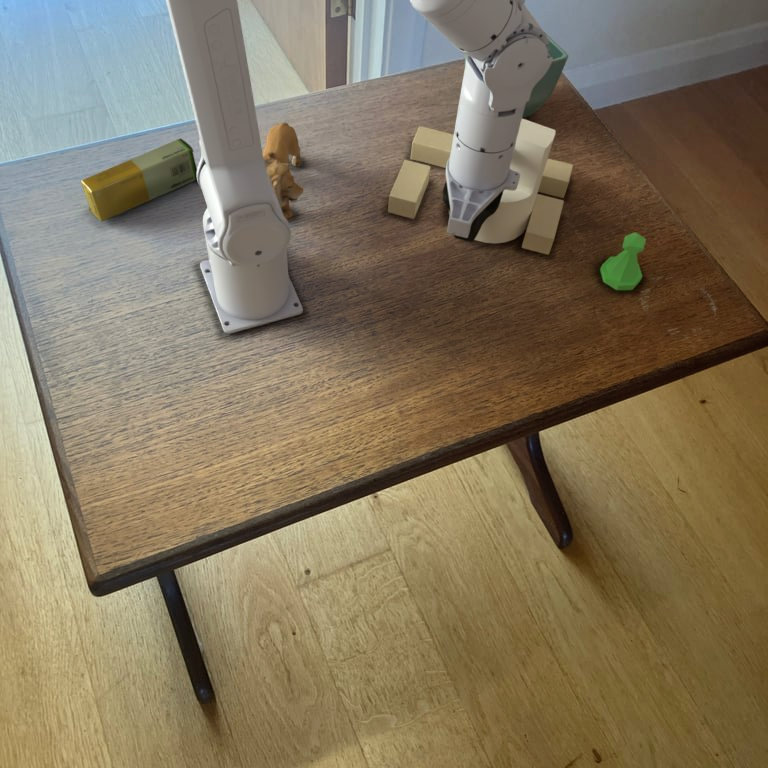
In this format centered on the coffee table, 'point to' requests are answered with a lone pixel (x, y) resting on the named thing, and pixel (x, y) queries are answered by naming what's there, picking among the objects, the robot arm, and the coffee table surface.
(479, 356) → the coffee table surface
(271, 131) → the lion figurine
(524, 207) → the base with upright slab
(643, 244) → the game piece
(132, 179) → the medication box
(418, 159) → the bay
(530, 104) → the flower pot
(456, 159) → the robot arm
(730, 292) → the coffee table surface
